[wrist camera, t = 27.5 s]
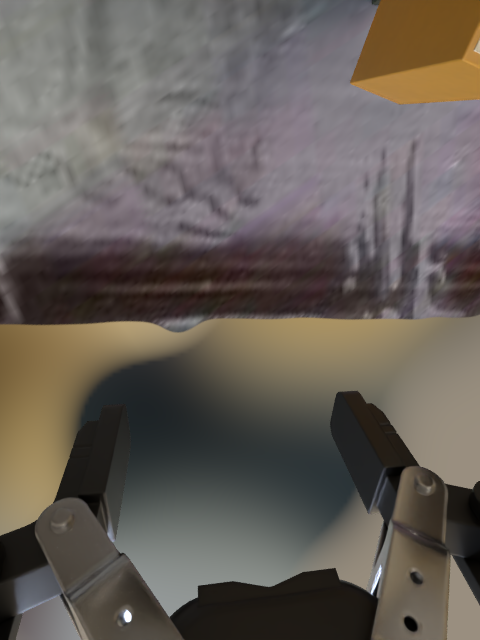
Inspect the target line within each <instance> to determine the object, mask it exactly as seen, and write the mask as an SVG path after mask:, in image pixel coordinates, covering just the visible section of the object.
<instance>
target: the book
mask: <svg viewBox="0 0 480 640" xmlns="http://www.w3.org/2000/svg"><path fill="white" fill-rule="evenodd" d="M350 83H351V84H352V85H355V86H357V87H359V88H362V89H364V90H367V91H369V92H371V93H374V94H376V95H378V96H381V97H383V98H386V99H388V100H390V101H393V102H395V103H398V104H414V103H430V102H445V101H460V100H476V99H480V0H381V1H380V3H379V6H378V9H377V12H376V14H375V17H374V20H373V22H372V25H371V28H370V30H369V33H368V36H367V38H366V41H365V44H364V46H363V49H362V52H361V54H360V57H359V60H358V63H357V65H356V68H355V71H354V73H353V76H352V79H351V81H350Z"/></svg>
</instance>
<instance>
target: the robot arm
mask: <svg viewBox="0 0 480 640" xmlns="http://www.w3.org/2000/svg"><path fill="white" fill-rule="evenodd" d="M330 425H331V426H330V427H331V433H332V436H333V439H334V441H335V443H336V445H337V447H338V449H339V452H340V453H341V456H342V458H343V460H344V462H345V464H346V466H347V469H348V471H349V473H350V475H351V477H352V479H353V482H354V484H355V486H356V488H357V490H358V492H359V494H360V497H361V499H362V501H363V503H364V505H365V507H366V509H367V511H368V514H375V513H381V515H382V517H383V519H384V521H383V524H382V527H381V531H380V536H379V540H378V545H377V549H376V554H375V558H374V563H373V567H372V571H371V575H370V579H369V582H368V585H367V588H366V590H364V589H363V588H361V587H359V586H357V585H354V584H352V583H350V582H347V581H343V580H339V577H338V574H337V571H336V568H332V569H324V570H317V571H309V572H302V573H300V574H298V575H296V576H294V577H292V578H290V579H287V580H285V581H283V582H281V583H279V584H277V585H275V586H272V587H264V586H258V585H252V584H246V583H240V582H234V581H232V582H224V583H216V584H208V585H201V586H198V598H195V599H193V600H192V601H189V602H188V603H186V604H185V605H183V606H182V607H180V608H179V609H178V610H177V611H176V612H174V613H173V615H171V616H170V618H169V616H168V615H167V614H166V612H165V611H164V609H163V608H162V606H161V605H160V603H159V602H158V600H157V599H156V597H155V596H154V594H153V593H152V591H151V590H150V588H149V587H148V586H147V584H146V583H145V581H144V580H143V578H142V577H141V575H140V574H139V572H138V571H137V569H136V568H135V567H134V565H133V563H132V562H131V561H130V559H129V558H128V557H127V556H126V554H124V553H120V552H119V551H118V550H117V549H116V547H115V546H114V544H113V543H112V541H115V540H116V534H117V528H118V522H119V516H120V510H121V504H122V497H123V491H124V485H125V479H126V473H127V467H128V461H129V454H130V442H131V441H130V430H129V423H128V416H127V409H126V405H125V404H119V405H104V406H103V408H102V411H101V415H100V418H99V421H87V423H86V424H85V425H84V426H83V427H82V428H81V430H80V431H79V432H78V433H77V436H76V439H75V442H74V445H73V448H72V451H71V454H70V459H69V460H68V463H67V466H66V468H65V472H64V474H63V477H62V480H61V483H60V486H59V489H58V492H57V495H56V498H55V500H54V502H53V504H51V505H50V506H49V507H47V508H46V509H45V510H44V511H43V512H42V514H41V515H40V516H39V518H38V520H36V521H35V522H33V523H31V524H29V525H27V526H25V527H22V528H20V529H17V530H14V531H12V532H9V533H6V534H4V535H1V536H0V640H16V636H17V632H18V629H19V625H20V621H21V618H22V614H23V612H24V611H26V610H29V609H31V608H33V607H35V606H37V605H39V604H41V603H44V602H46V601H48V600H50V599H52V598H54V597H56V596H58V595H60V597H61V599H62V601H63V603H64V606H65V608H66V610H67V611H68V613H69V616H70V618H71V620H72V622H73V624H74V626H75V628H76V630H77V632H78V634H79V636H80V638H81V640H447V620H448V599H449V578H450V555H452V556H453V558H454V560H455V561H456V563H457V565H458V567H459V569H460V571H461V572H462V574H463V576H464V578H465V580H466V581H467V583H468V585H469V587H470V589H471V590H472V592H473V594H474V596H475V598H476V599H477V601H478V603H479V605H480V481H478V482H477V483H476V484H475V486H474V488H473V489H468V488H463V487H458V486H453V485H448V484H445V483H444V482H443V480H442V479H441V478H440V477H439V476H438V475H436V474H435V473H433V472H432V471H430V470H428V469H426V468H423V467H420V466H419V464H418V463H417V461H416V460H415V458H414V457H413V455H412V454H411V453H410V451H409V450H408V448H407V447H406V445H405V444H404V442H403V441H402V439H401V438H400V436H399V435H398V434H397V433H396V430H395V429H394V427H393V426H392V425H391V424H390V421H389V420H388V419H387V417H386V416H385V414H384V413H383V412H382V411H381V410H380V409H378V408H377V407H376V406H375V405H373V404H372V403H370V404H366V402H365V400H364V399H363V397H362V396H361V394H360V393H359V392H358V391H347V392H338V393H337V394H336V398H335V403H334V407H333V412H332V416H331V422H330Z"/></svg>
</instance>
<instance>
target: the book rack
mask: <svg viewBox="0 0 480 640" xmlns="http://www.w3.org/2000/svg"><path fill="white" fill-rule="evenodd" d="M380 1H381V0H372V4H374V5H379V3H380Z"/></svg>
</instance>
